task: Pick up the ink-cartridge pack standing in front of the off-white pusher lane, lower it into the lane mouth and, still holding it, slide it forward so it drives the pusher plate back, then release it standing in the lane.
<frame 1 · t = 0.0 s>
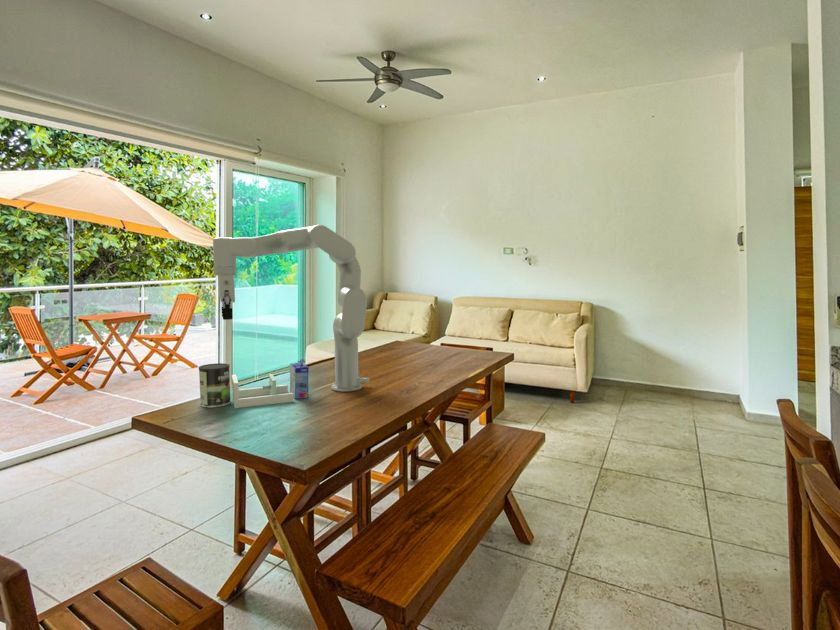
hand: (227, 318, 170), 31 cm above the table, fingers open, 9 cm apart
ink cartridge box: (299, 396, 180), on the table
pusher: (268, 387, 175), point 4 cm above the table, slide at 0.0 cm
coffee can: (215, 404, 169), on the table
lane: (264, 399, 175), on the table
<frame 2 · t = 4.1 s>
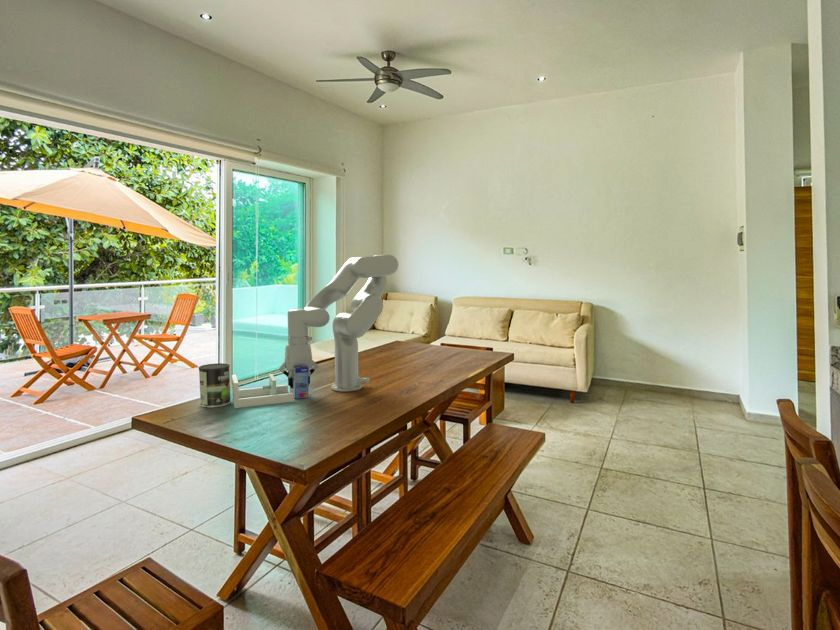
hand: (299, 386, 180), 4 cm above the table, fingers closed on ink cartridge box, 5 cm apart
ink cartridge box: (299, 396, 180), on the table, touching gripper
everything else where it was.
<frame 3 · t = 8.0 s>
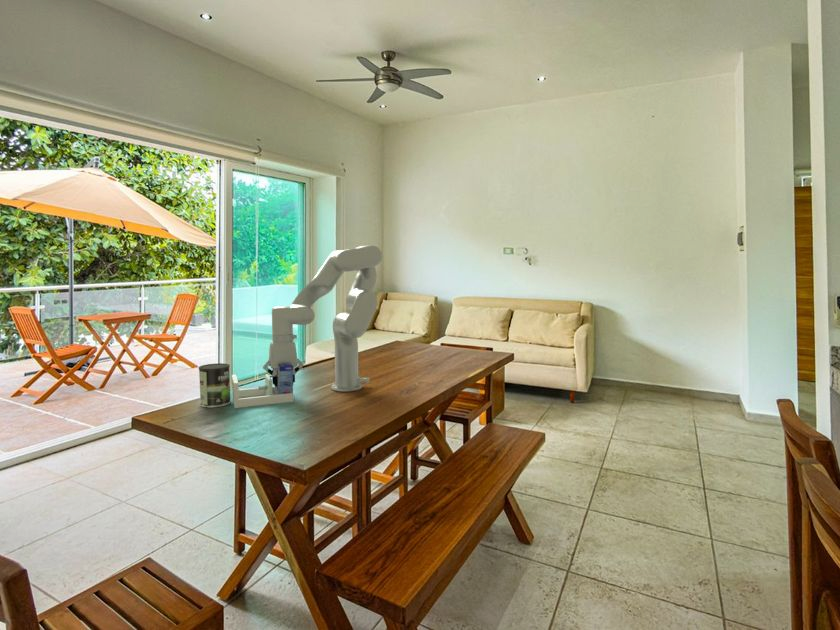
hand: (283, 384, 177), 5 cm above the table, fingers closed on ink cartridge box, 5 cm apart
ink cartridge box: (284, 394, 177), point 1 cm above the table, touching gripper
pusher: (264, 388, 174), point 4 cm above the table, slide at 1.4 cm, touching gripper
everything else where it was.
when the fingers open (5 cm above the table, at t = 10.4 s): ink cartridge box drops 1 cm, on the table.
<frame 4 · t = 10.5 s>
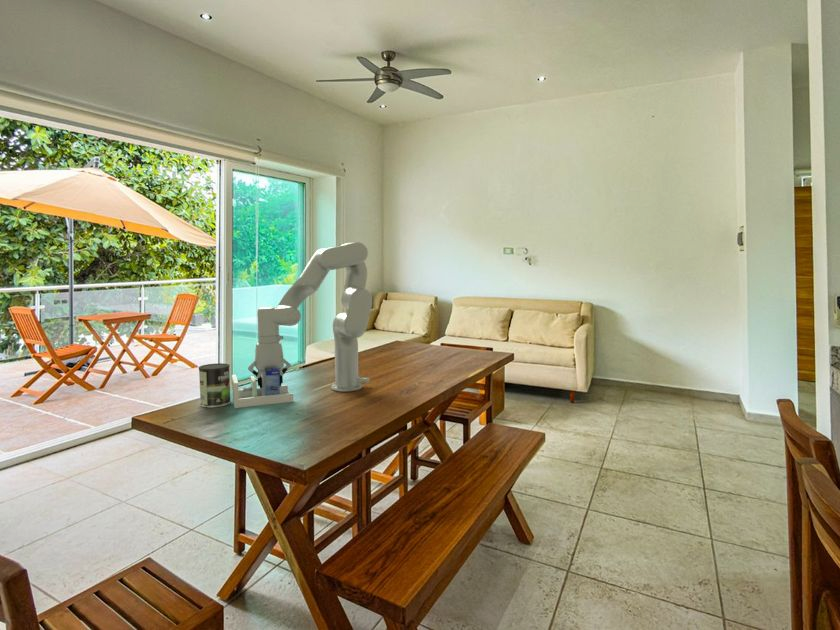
hand: (270, 385, 175), 5 cm above the table, fingers open, 6 cm apart
ink cartridge box: (271, 399, 176), on the table
pusher: (249, 389, 172), point 4 cm above the table, slide at 6.8 cm, touching gripper
everything else where it was.
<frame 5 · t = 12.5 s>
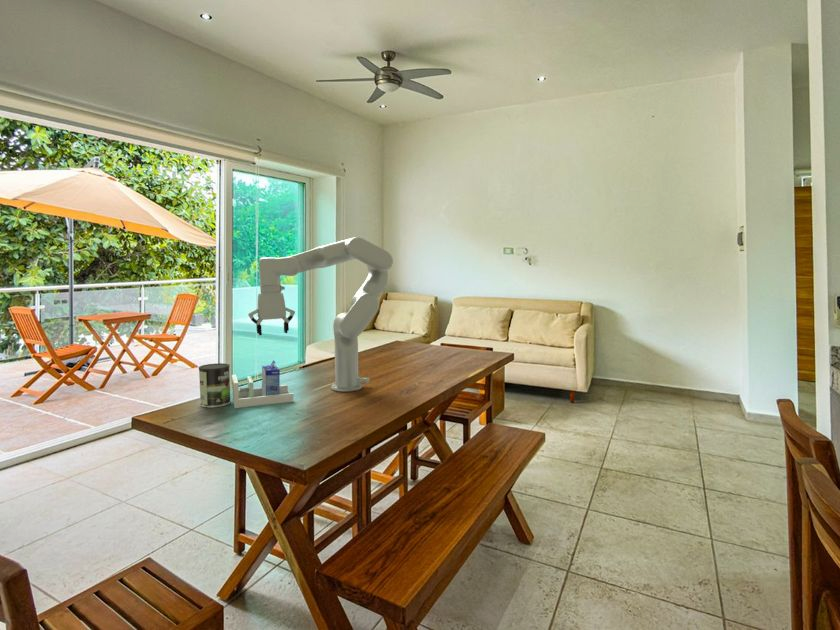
hand: (273, 333, 178), 24 cm above the table, fingers open, 9 cm apart
pusher: (246, 390, 171), point 4 cm above the table, slide at 8.0 cm
everything else where it was.
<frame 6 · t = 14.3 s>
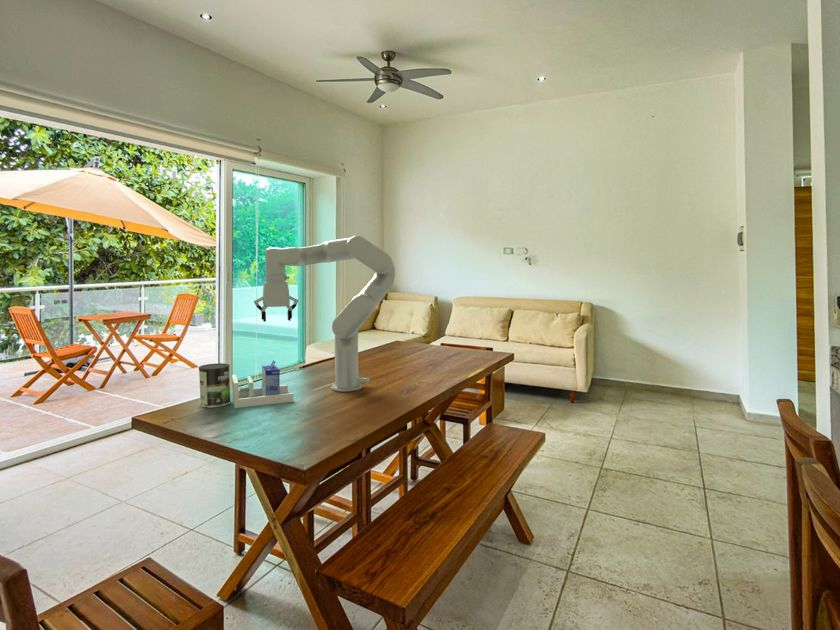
hand: (277, 320, 187), 28 cm above the table, fingers open, 9 cm apart
nothing on the table moved.
at the end: pusher slide at 8.0 cm; ink cartridge box inside the target area (1.4 cm from its centre), on the table; ink cartridge box tilted 0° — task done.
